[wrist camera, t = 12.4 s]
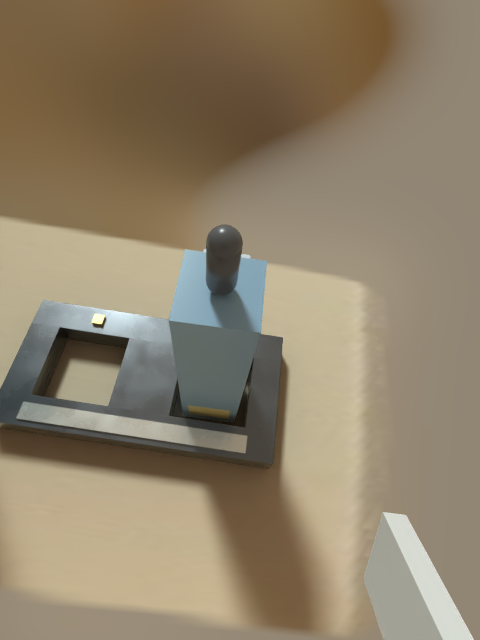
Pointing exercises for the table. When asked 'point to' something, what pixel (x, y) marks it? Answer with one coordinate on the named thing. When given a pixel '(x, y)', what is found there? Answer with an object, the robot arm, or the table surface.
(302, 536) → the table surface
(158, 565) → the table surface
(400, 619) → the robot arm
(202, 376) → the plug
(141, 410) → the port panel
